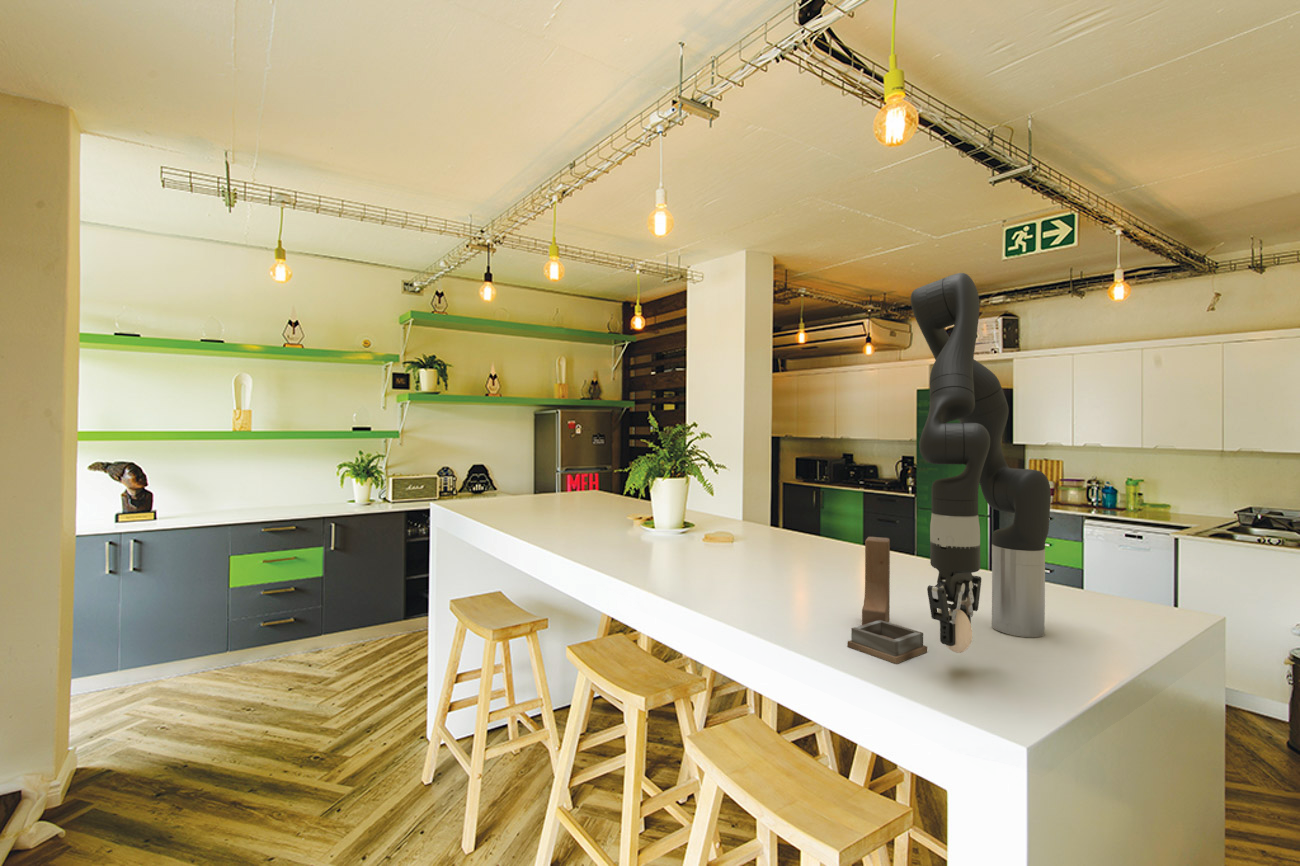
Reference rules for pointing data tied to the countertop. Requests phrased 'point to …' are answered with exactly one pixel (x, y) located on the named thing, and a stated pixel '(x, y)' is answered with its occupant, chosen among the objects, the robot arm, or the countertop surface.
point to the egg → (961, 632)
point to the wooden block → (876, 580)
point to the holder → (887, 641)
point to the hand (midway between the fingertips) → (955, 640)
